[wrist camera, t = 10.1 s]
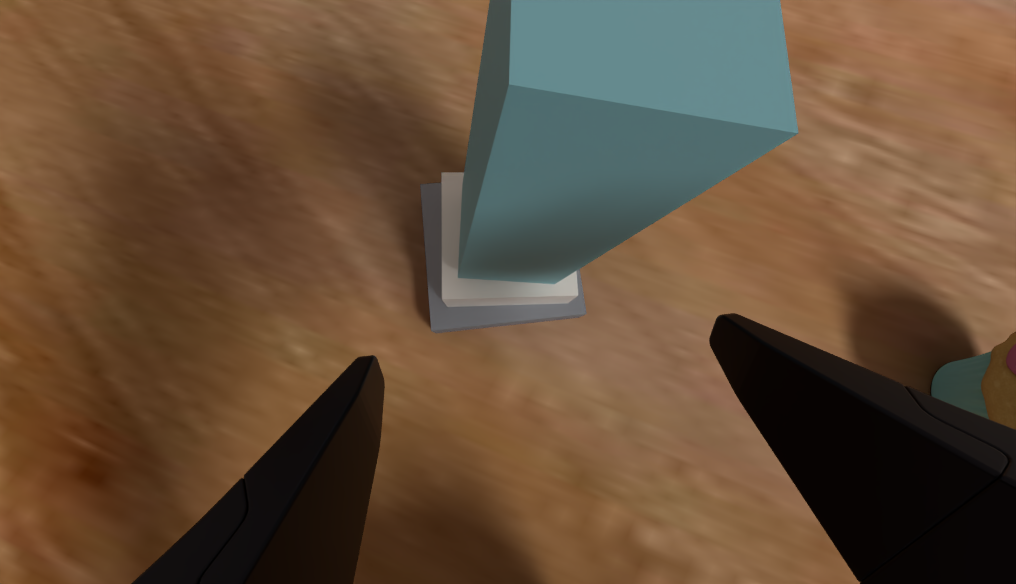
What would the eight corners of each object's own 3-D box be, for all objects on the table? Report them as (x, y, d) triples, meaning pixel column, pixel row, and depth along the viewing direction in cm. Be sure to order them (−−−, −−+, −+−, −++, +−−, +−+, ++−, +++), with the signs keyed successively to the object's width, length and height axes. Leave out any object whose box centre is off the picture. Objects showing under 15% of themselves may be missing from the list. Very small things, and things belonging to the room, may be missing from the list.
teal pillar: (554, 284, 19) (798, 133, 6) (457, 277, 18) (508, 84, 5) (554, 194, 20) (766, -98, 7) (462, 183, 19) (516, -175, 6)
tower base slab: (576, 318, 23) (586, 313, 21) (437, 334, 23) (431, 330, 20) (556, 191, 25) (564, 172, 23) (427, 202, 24) (420, 184, 22)
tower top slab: (567, 303, 21) (578, 295, 19) (447, 306, 21) (441, 299, 18) (559, 192, 22) (568, 171, 20) (446, 193, 22) (441, 172, 19)
